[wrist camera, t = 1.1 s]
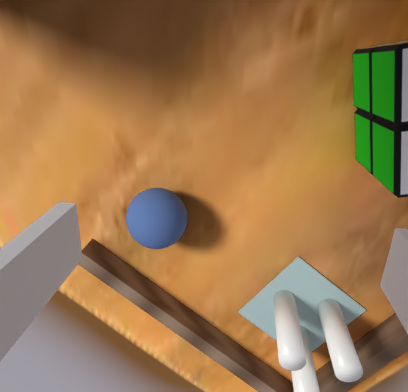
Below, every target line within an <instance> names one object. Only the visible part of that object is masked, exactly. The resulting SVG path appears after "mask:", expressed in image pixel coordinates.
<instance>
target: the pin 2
mask: <svg viewBox="0 0 408 392" xmlns="http://www.w3.org/2000/svg"><path fill="white" fill-rule="evenodd" d="M317 309H318V313H319V317H320V321H321V324H322V328H323V332H324V335H325V339H326V343H327V346H328V350H329V354H330V358H331V361H332V365H333V369H334V372H335V376H336V377H337V378H338V379H339V380H341V381H343V382H354V381H357V380H359V379H360V378H361V377H362V375H363V369H362V366H361V363H360V361H359V358H358V355H357V352H356V350H355V347H354V344H353V341H352V339H351V336H350V333H349V330H348V328H347V325H346V322H345V319H344V317H343V314H342V311H341V308H340V306H339V303H338V302H337V301H336V300H334V299H330V298H328V299H323V300H321V301H320V302H319V303H318V306H317Z"/></svg>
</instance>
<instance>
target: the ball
mask: <svg viewBox="0 0 408 392" xmlns="http://www.w3.org/2000/svg"><path fill="white" fill-rule="evenodd" d="M126 223H127V228H128V230H129V233H130V234H131V236H132V237H133V238H134V240H135V241H137V242H138V243H139V244H141V245H143V246H145V247H147V248H152V249H161V248H166V247H169V246H171V245H172V244H174V243H175V242H177V241H178V240H179V239H180V238H181V236H182V235H183V233H184V231H185V229H186V226H187V211H186V208H185V205H184V203H183V202H182V200H181V199H180V198H179V197H178V196H177V195H176V194H175V193H173V192H171V191H169V190H167V189H163V188H151V189H147V190H145V191H143V192H141V193H139V194H138V195H137V196H136V197H135V198H134V199H133V200H132V202H131V203H130V205H129V207H128V210H127V214H126Z"/></svg>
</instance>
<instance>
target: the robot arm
mask: <svg viewBox="0 0 408 392" xmlns="http://www.w3.org/2000/svg"><path fill="white" fill-rule="evenodd" d="M81 260H82V250H81V241H80V232H79V224H78V215H77V207H76V203H66V202H58V203H57V204H56V205H55V206H53V207H52V208H51V209H50V210H48V211H47V212H46V213H45V214H43V215H42V216H41V217H39V218H38V219H37V220H36V221H34V222H33V223H32V224H31V225H29V226H28V227H27V228H26V229H24V230H23V231H22V232H21V233H19V234H18V235H17V236H15V237H14V238H13V239H12V240H10V241H9V242H8V243H7V244H5V245H4V246H3V247H2V248H0V360H2V358H3V357H4V356H5V355H6V353H7V352H8V351H9V350H10V348H11V347H12V346H13V345H14V343H15V342H16V341H17V340H18V338H19V337H20V336H21V335H22V333H23V332H24V331H25V330H26V328H27V327H28V326H29V325H30V323H31V322H32V321H33V320H34V318H35V317H36V316H37V315H38V313H39V312H40V311H41V310H42V308H43V307H44V306H45V305H46V303H47V302H48V301H49V300H50V298H51V297H52V296H53V295H54V293H55V292H56V291H57V290H58V288H59V287H60V286H61V285H62V283H63V282H64V281H65V280H66V278H67V277H68V276H69V275H70V273H71V272H72V271H73V270H74V268H75V267H76V266H77V265H78V263H79V262H80V261H81ZM380 287H381V289H382V290H383V292H384V294H385V296H386V297H387V299H388V301H389V303H390V304H391V306H392V308H393V310H394V311H395V313H396V315H397V317H398V318H399V320H400V322H401V324H402V325H403V327H404V329H405V331H406V332H407V334H408V229H401V228H395V232H394V235H393V239H392V243H391V246H390V250H389V254H388V258H387V261H386V265H385V269H384V272H383V276H382V280H381V283H380Z"/></svg>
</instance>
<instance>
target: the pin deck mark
mask: <svg viewBox="0 0 408 392" xmlns="http://www.w3.org/2000/svg"><path fill="white" fill-rule="evenodd" d="M280 290H288V291H290V292H292V293H293V295H294V297H295V302H296V307H297V312H298V318H299V323H300V325H301V326H303V327H305V328H306V330H307V333H308V338H309V342H310V347H311V352H313V351H314V350H315V349H317V348H318V347H319V346H320V345H322V344H323V343H324V342H326V339H325V335H324V332H323V328H322V324H321V321H320V317H319V313H318V309H317V306H318V303H319V302H320V301H321V300H323V299H328V298H330V299H334V300H336V301H337V302H338V303H339V306H340V308H341V311H342V314H343V317H344V319H345V322H346V325H348V324H349V323H351V322H352V321H353V320H355V319H356V318H357V317H358V316H360V315H361V314H362V313H364V312H365V311H366V309H365V308H364V307H362V306H361V305H360V304H359V303H357V302H356V301H355V300H354V299H352V298H351V297H350V296H348V295H347V294H346V293H345V292H343V291H342V290H341V289H340V288H338V287H337V286H336V285H334V284H333V283H332V282H331V281H329V280H328V279H327V278H326V277H324V276H323V275H322V274H320V273H319V272H318V271H317V270H315V269H314V268H313V267H312V266H310V265H309V264H308V263H307V262H305V261H304V260H303V259H301V258H300V257H299V256H298V257H297V258H296V259H295V260H294V261H293V262H292V263H290V264H289V265H288V266H287V267H286V268H285V269H284V270H283V271H282V272H281V273H280V274H278V275H277V276H276V277H275V278H274V279H273V280H272V281H271V282H270V283H269V284H268V285H266V286H265V287H264V288H263V289H262V290H261V291H260V292H259V293H258V294H257V295H256V296H254V297H253V298H252V299H251V300H250V301H249V302H248V303H247V304H246V305H245V306H244V307H242V308H241V309H240V310H239V311H238V313H240V314H241V315H242V316H244V317H245V318H246V319H248V320H249V321H250V322H252V323H253V324H254V325H256V326H257V327H258V328H260V329H261V330H263V331H264V332H265V333H267V334H268V335H269V336H271V337H272V338H273V339H275V340H276V341H277V336H276V325H275V314H274V304H273V296H274V294H275V293H276V292H278V291H280Z"/></svg>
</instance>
